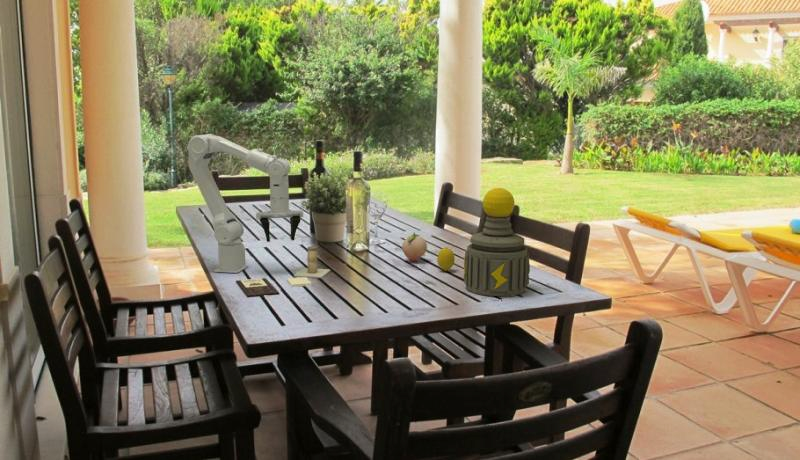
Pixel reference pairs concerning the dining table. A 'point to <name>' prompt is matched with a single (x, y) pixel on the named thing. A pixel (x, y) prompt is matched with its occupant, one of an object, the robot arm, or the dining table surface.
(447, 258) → the lemon
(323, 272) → the mat
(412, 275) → the dining table surface
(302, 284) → the tile
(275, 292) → the chocolate bar
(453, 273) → the dining table surface
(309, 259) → the dowel
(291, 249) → the dining table surface
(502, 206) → the decorative lamp
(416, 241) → the decorative fruit
